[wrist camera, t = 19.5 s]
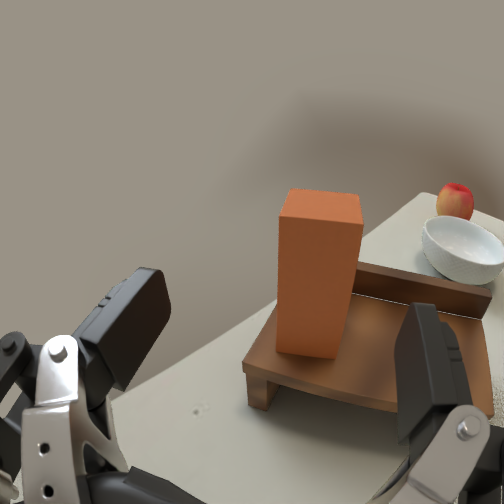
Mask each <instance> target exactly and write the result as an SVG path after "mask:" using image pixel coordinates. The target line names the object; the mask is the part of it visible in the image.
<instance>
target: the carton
mask: <svg viewBox="0 0 504 504" xmlns="http://www.w3.org/2000/svg"><path fill="white" fill-rule="evenodd" d="M363 226H364V223H363V217H362V211H361V206H360V201H359V195H355V194H347V193H338V192H327V191H316V190H305V189H304V190H303V189H290V192H289V194H288V196H287V198H286V201H285V203H284V206H283V208H282V210H281V212H280V215H279V247H278V292H277V325H276V352H282V353H288V354H295V355H303V356H310V357H318V358H327V359H336V357H337V353H338V349H339V346H340V342H341V338H342V334H343V329H344V325H345V321H346V317H347V312H348V308H349V303H350V299H351V294H352V289H353V284H354V279H355V274H356V269H357V263H358V258H359V252H360V246H361V240H362V234H363Z"/></svg>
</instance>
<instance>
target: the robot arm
mask: <svg viewBox="0 0 504 504" xmlns="http://www.w3.org/2000/svg"><path fill="white" fill-rule="evenodd" d="M170 314H171V303H170V299H169V296H168V291H167V287H166V283H165V278H164V275H163V272H162V271H161V270H156V269H151V268H144V267H140V268H138V269H137V270H136V271H135V272H134V273H133V274H132V275H131V276H130V278H129V279H125V280H124V281H122V282H121V283H119V284H117V285H116V286H114V287H113V288H112V289H111V290H110V292H109V293H108V294H107V295H106V296H105V299H102V300H101V302H100V303H99V304H98V307H97V306H96V307H95V308H94V309H93V311H92V312H91V313H90V314H89V315H88V316H87V318H86V319H85V320H84V321H83V322H82V323H81V325H80V326H79V327H78V328H77V329H76V330H75V332H74V333H73V334H72V335H71V336H68V335H60V336H56V337H54V338H52V339H50V340H49V341H48V342H47V343H46V344H45V345H32V344H29V343H28V341H27V340H26V338H25V336H24V335H23V334H22V333H20V332H11V333H8V334H6V335H5V336H4V337H2V338H1V339H0V403H1V401H2V400H3V398H4V397H5V395H6V394H7V392H8V391H9V389H10V388H11V386H12V385H13V383H14V382H15V383H16V384H17V385H18V386H19V388H20V389H21V390H22V393H21V394H20V396H19V397H18V399H17V400H16V402H15V404H14V405H13V407H12V408H11V410H10V411H9V413H8V415H7V416H6V417H5V418H3V419H2V418H1V417H0V504H10V499H13V500H16V499H17V498H18V497H19V490H18V488H17V487H16V486H14V485H13V482H14V480H15V478H16V476H17V474H18V473H19V471H20V469H21V470H22V486H23V496H24V501H21V502H18V503H14V504H206V503H204V502H202V501H201V500H199V499H197V498H195V497H194V496H192V495H190V494H189V493H187V492H185V491H184V490H182V489H181V488H179V487H177V486H176V485H174V484H173V483H171V482H170V481H168V480H165V479H163V478H160V477H157V476H155V475H152V474H150V473H148V472H145V471H143V470H140V469H138V468H136V467H134V466H132V467H131V469H130V471H129V470H128V466H127V463H126V460H125V458H124V456H123V454H122V452H121V451H120V448H119V446H118V443H117V438H116V432H115V426H114V420H113V414H112V407H111V399H110V396H109V394H108V392H109V391H110V389H111V388H112V387H113V388H115V389H118V390H120V391H123V392H124V391H125V389H126V387H127V386H128V385H129V383H130V381H131V380H132V378H133V376H134V375H135V373H136V371H137V370H138V368H139V367H140V365H141V363H142V362H143V360H144V359H145V357H146V355H147V354H148V352H149V351H150V349H151V348H152V346H153V344H154V342H155V341H156V339H157V338H158V336H159V335H160V333H161V332H162V330H163V329H164V327H165V325H166V324H167V322H168V320H169V318H170ZM459 348H460V347H459V344H458V340H457V337H456V334H455V332H454V331H453V330H452V328H451V327H450V326H449V324H448V323H447V322H441V321H440V319H439V316H438V313H437V309H436V307H435V305H434V304H426V303H414V302H412V303H411V304H410V305H409V307H408V310H407V312H406V315H405V317H404V320H403V323H402V325H401V328H400V330H399V333H398V335H397V338H396V341H395V347H394V361H395V373H396V388H397V410H398V445H410V454H409V455H408V456H407V457H406V459H405V460H404V461H403V462H402V464H401V465H400V466H399V467H398V468H397V470H396V471H395V472H394V473H393V474H392V476H391V477H390V478H389V479H388V480H387V481H386V483H385V484H384V485H383V486H382V487H381V488H380V489H379V490H378V491H377V492H376V494H375V495H374V496H373V497H372V498H371V499H370V500H369V501H368V502H367V503H366V504H453V503H454V501H455V499H456V498H457V496H458V494H459V498H458V504H501V486H502V504H504V428H501V427H497V426H493V425H490V424H489V420H488V418H487V416H486V415H485V414H484V413H483V411H482V410H480V409H479V408H477V407H475V406H474V405H473V401H472V396H471V391H470V387H469V382H468V378H467V374H466V370H465V366H464V362H462V360H463V358H462V354H461V351H460V350H459Z"/></svg>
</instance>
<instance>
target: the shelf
mask: <svg viewBox="0 0 504 504" xmlns="http://www.w3.org/2000/svg"><path fill="white" fill-rule="evenodd" d="M352 293H355V294H351V299H350V303H349V308H348V312H347V317H346V321H345V325H344V329H343V334H342V338H341V342H340V346H339V349H338V353H337V357H336V359H327V358H318V357H310V356H303V355H295V354H288V353H282V352H276V325H277V305H276V306H275V308H274V310H273V311H272V313H271V315H270V317H269V318H268V320H267V322H266V323H265V325H264V327H263V328H262V330H261V332H260V333H259V335H258V337H257V338H256V340H255V342H254V343H253V345H252V347H251V348H250V350H249V351H248V353H247V355H246V356H245V358H244V360H243V361H242V367H243V372H244V373H246V382H247V394H248V405H250V406H252V407H255V408H258V409H261V410H264V411H267V410H268V408H269V406H270V404H271V402H272V400H273V398H274V396H275V394H276V392H277V390H278V388H279V386H280V385H284V386H287V387H290V388H294V389H297V390H300V391H304V392H308V393H311V394H315V395H319V396H322V397H326V398H330V399H334V400H338V401H342V402H346V403H351V404H355V405H359V406H364V407H369V408H373V409H378V410H383V411H389V412H394V413H398V410H397V388H396V373H395V361H394V347H395V341H396V338H397V335H398V333H399V330H400V328H401V325H402V323H403V320H404V317H405V315H406V312H407V310H408V307H409V306H408V305H410V304H411V303H412V302H414V303H426V304H434V305H435V307H436V309H437V313H438V316H439V319H440V321H441V322H447V323H448V324H449V326H450V327H451V328H452V330H453V331H454V332H455V334H456V337H457V340H458V344H459V347H460V348H459V350H460V351H461V354H462V358H463V360H462V362H464V366H465V370H466V374H467V378H468V382H469V387H470V391H471V396H472V401H473V405H474V406H475V407H477V408H479V409H480V410H482V411H483V413H484V414H485V415H486V416H487V418H488V420H490V419H491V418H492V417H493V416H494V407H493V394H492V383H491V374H490V367H489V359H488V353H487V347H486V341H485V336H484V331H483V326H482V321H481V320H478V319H482V318H483V316H484V314H485V312H486V310H487V308H488V306H489V304H490V302H491V299H492V295H491V292H490V289H486V288H482V287H477V286H472V285H468V284H463V283H459V282H454V281H449V280H445V279H440V278H436V277H431V276H426V275H421V274H417V273H412V272H407V271H403V270H398V269H393V268H388V267H383V266H379V265H374V264H369V263H364V262H359V261H358V263H357V269H356V274H355V279H354V284H353V289H352ZM357 294H360V295H357ZM361 295H364V296H361ZM366 296H369V297H366ZM371 297H374V298H371ZM375 298H378V299H375ZM380 299H383V300H380ZM385 300H388V301H385ZM389 301H392V302H389ZM394 302H397V303H394ZM399 303H402V304H399ZM404 304H407V305H404ZM438 311H441V312H438ZM443 312H446V313H443ZM448 313H451V314H448ZM452 314H456V315H452ZM458 315H461V316H458ZM463 316H466V317H463ZM468 317H471V318H468ZM473 318H476V319H473Z"/></svg>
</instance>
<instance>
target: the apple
mask: <svg viewBox="0 0 504 504" xmlns="http://www.w3.org/2000/svg"><path fill="white" fill-rule="evenodd" d="M436 209H437V213H438V216H452V217H458V218H462V219H465V220H468V221H469V220H470V218H471V216H472V213H473V209H474V201H473V196H472V193H471V191H470V190H469V189H468V188H467V187H465V186H463V185H460V184H455V183H449V184H447V185H446V186H444V187H443V188H442V190H441V191H440V193H439V195H438V198H437V204H436Z"/></svg>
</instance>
